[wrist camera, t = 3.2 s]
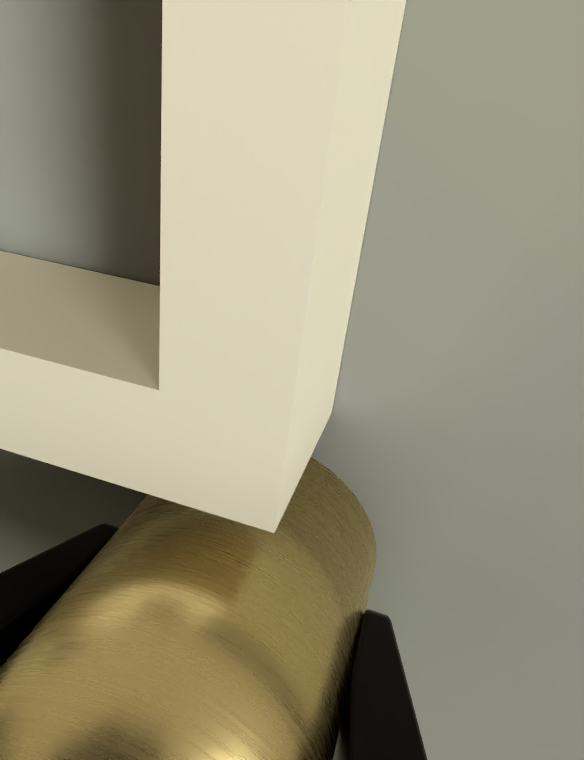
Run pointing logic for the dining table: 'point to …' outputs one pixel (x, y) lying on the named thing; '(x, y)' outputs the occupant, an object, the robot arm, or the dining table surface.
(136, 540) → the brass cylinder
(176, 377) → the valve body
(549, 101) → the dining table surface
